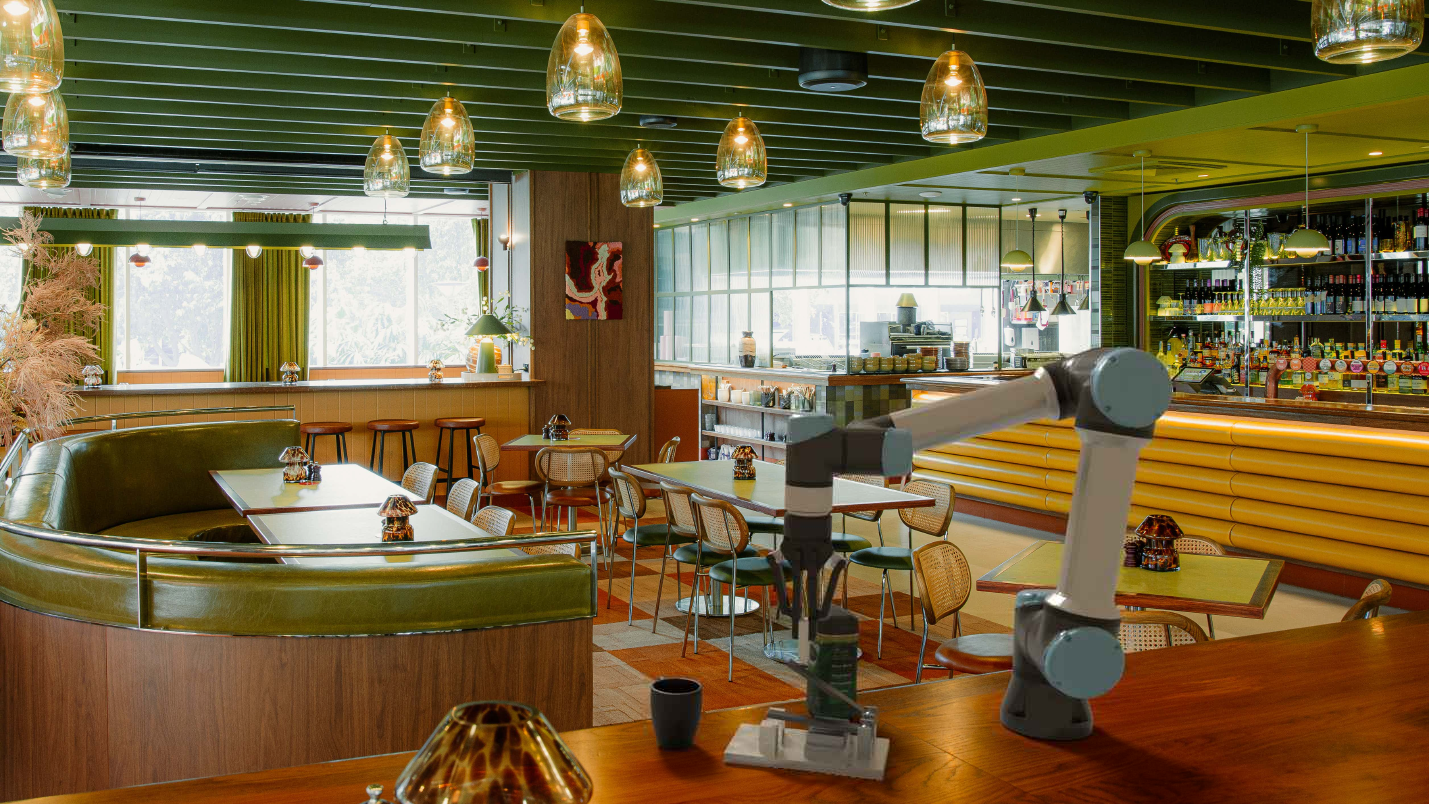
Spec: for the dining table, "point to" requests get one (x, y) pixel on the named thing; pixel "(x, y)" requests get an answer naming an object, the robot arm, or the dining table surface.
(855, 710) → the inner strap
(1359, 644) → the dining table surface
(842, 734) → the board
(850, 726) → the outer strap
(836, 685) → the coffee jar
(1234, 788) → the dining table surface
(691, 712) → the mug
